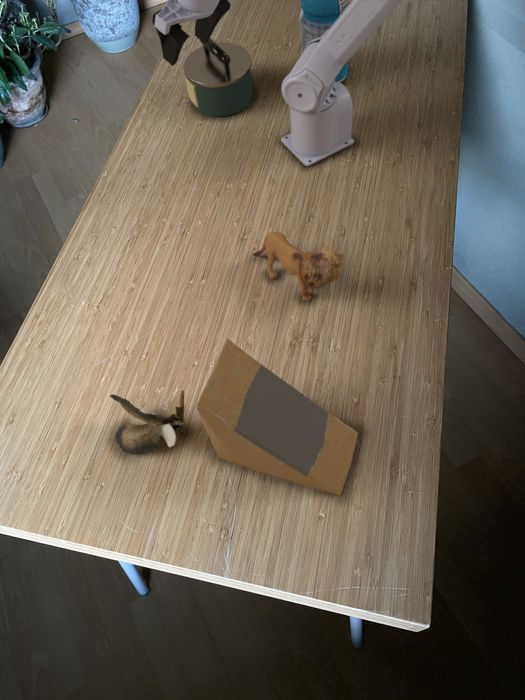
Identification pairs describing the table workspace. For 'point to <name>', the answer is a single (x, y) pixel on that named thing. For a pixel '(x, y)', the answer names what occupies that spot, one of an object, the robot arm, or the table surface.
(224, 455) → the sandwich container
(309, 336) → the table surface
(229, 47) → the green lidded pot
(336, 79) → the beverage bottle
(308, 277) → the lion figurine
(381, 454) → the table surface
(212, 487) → the table surface
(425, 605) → the table surface
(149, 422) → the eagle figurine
